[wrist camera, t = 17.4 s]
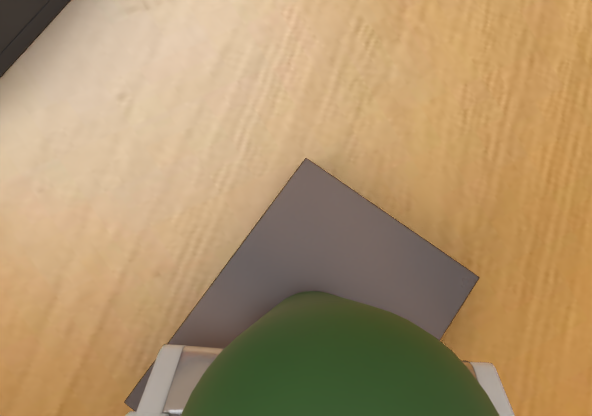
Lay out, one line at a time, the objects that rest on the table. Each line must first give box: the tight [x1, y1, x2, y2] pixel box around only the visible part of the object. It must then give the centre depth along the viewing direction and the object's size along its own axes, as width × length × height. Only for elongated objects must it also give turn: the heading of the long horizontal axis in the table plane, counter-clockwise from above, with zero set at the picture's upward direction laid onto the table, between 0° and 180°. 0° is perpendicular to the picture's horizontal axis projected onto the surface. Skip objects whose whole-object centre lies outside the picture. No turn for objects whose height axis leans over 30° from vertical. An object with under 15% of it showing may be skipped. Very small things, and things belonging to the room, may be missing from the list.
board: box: [125, 158, 479, 411], centre depth 20 cm, size 14×10×2 cm
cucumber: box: [181, 291, 499, 416], centre depth 10 cm, size 5×5×14 cm
